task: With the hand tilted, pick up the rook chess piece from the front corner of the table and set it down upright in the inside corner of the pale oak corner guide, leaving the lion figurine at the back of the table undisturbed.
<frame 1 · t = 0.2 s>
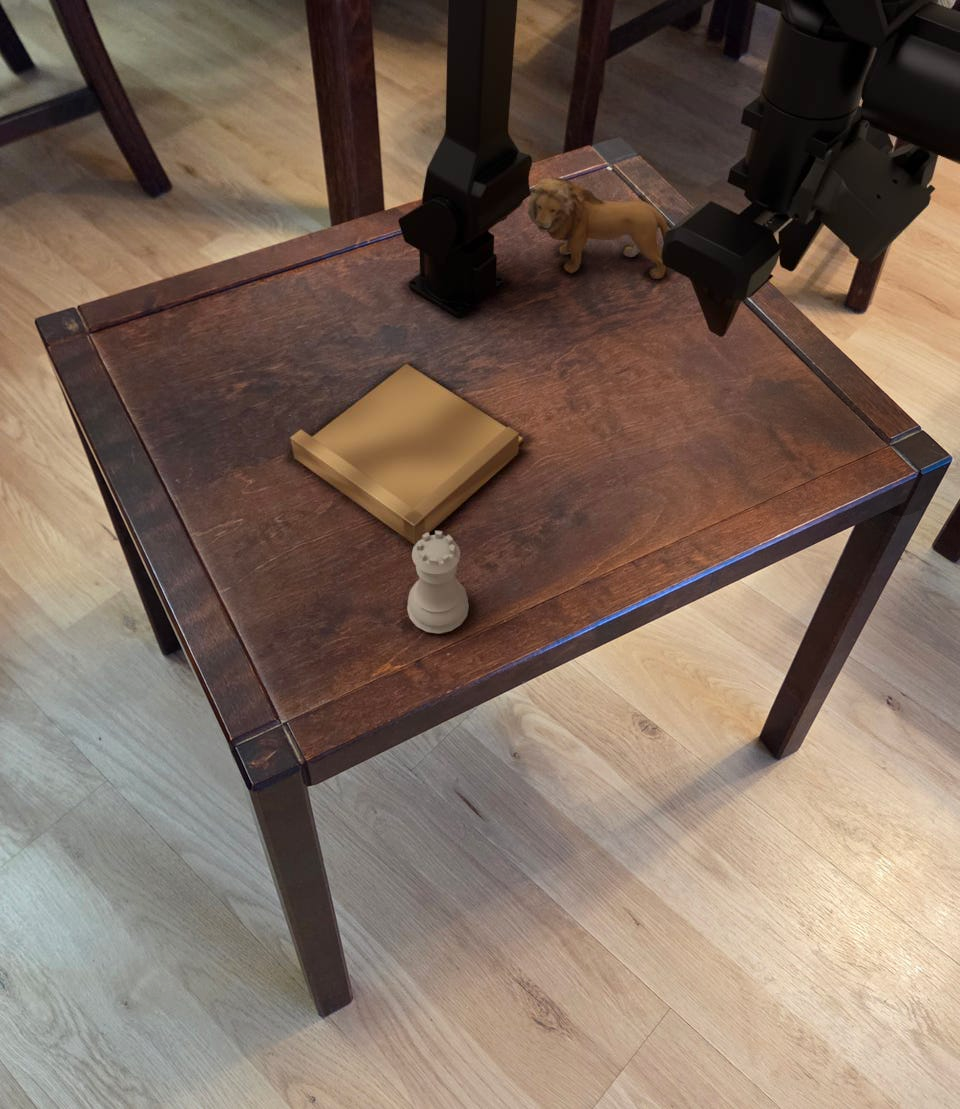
hand: (753, 300, 75), 15 cm above the table, tool pointing down, fingers open, 9 cm apart
corner guide: (415, 536, 80), on the table
lion figurine: (597, 267, 99), on the table
rook chess piece: (438, 612, 77), on the table
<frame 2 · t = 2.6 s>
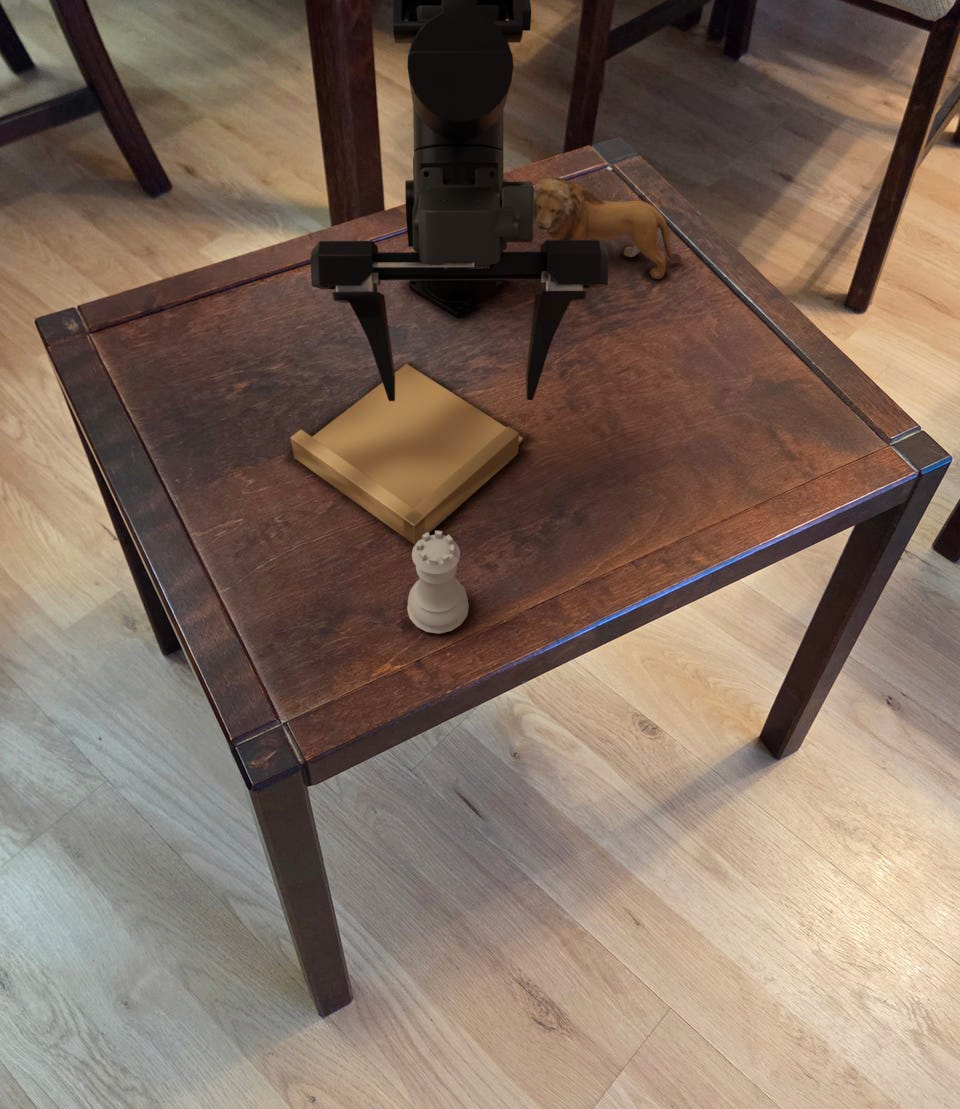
hand: (460, 400, 70), 13 cm above the table, tool tilted 40°, fingers open, 9 cm apart
nothing on the table moved.
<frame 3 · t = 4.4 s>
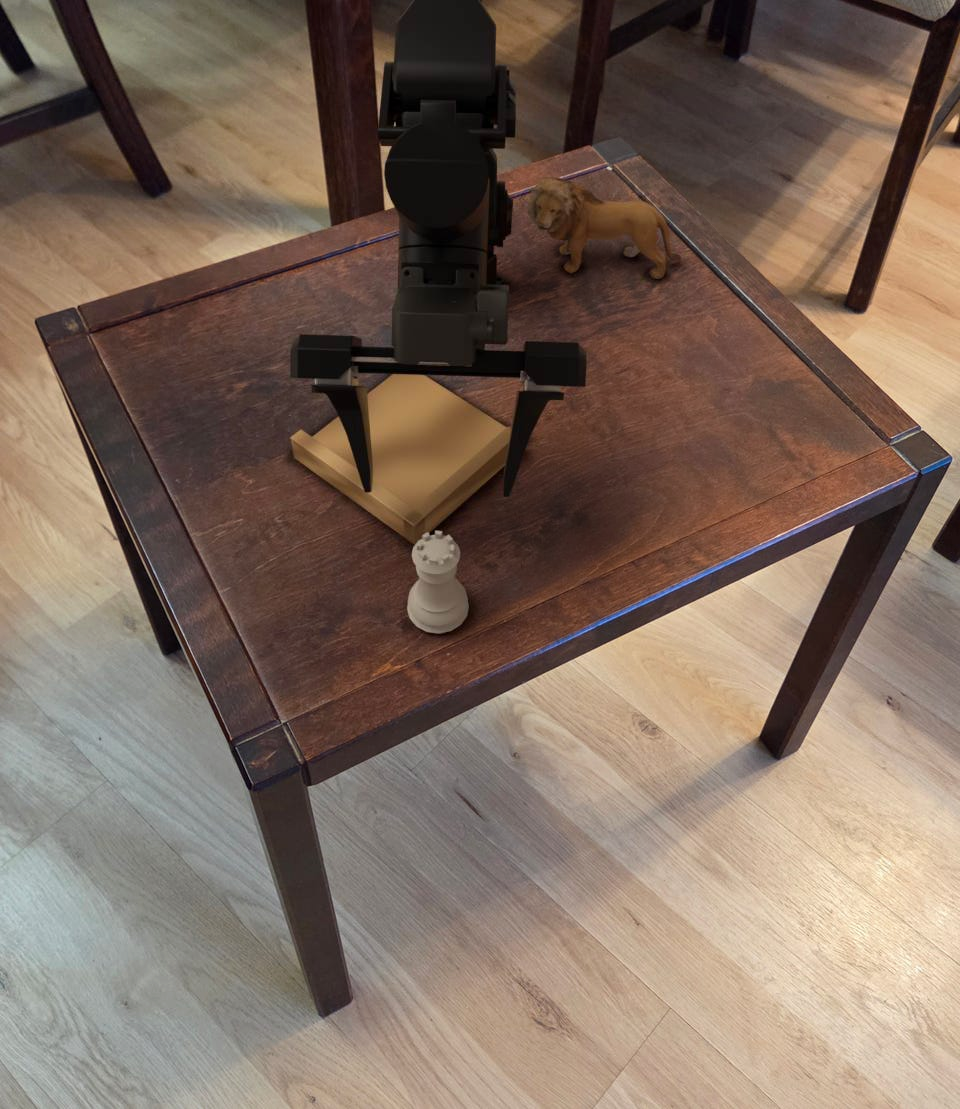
hand: (437, 494, 70), 10 cm above the table, tool tilted 45°, fingers open, 9 cm apart
nothing on the table moved.
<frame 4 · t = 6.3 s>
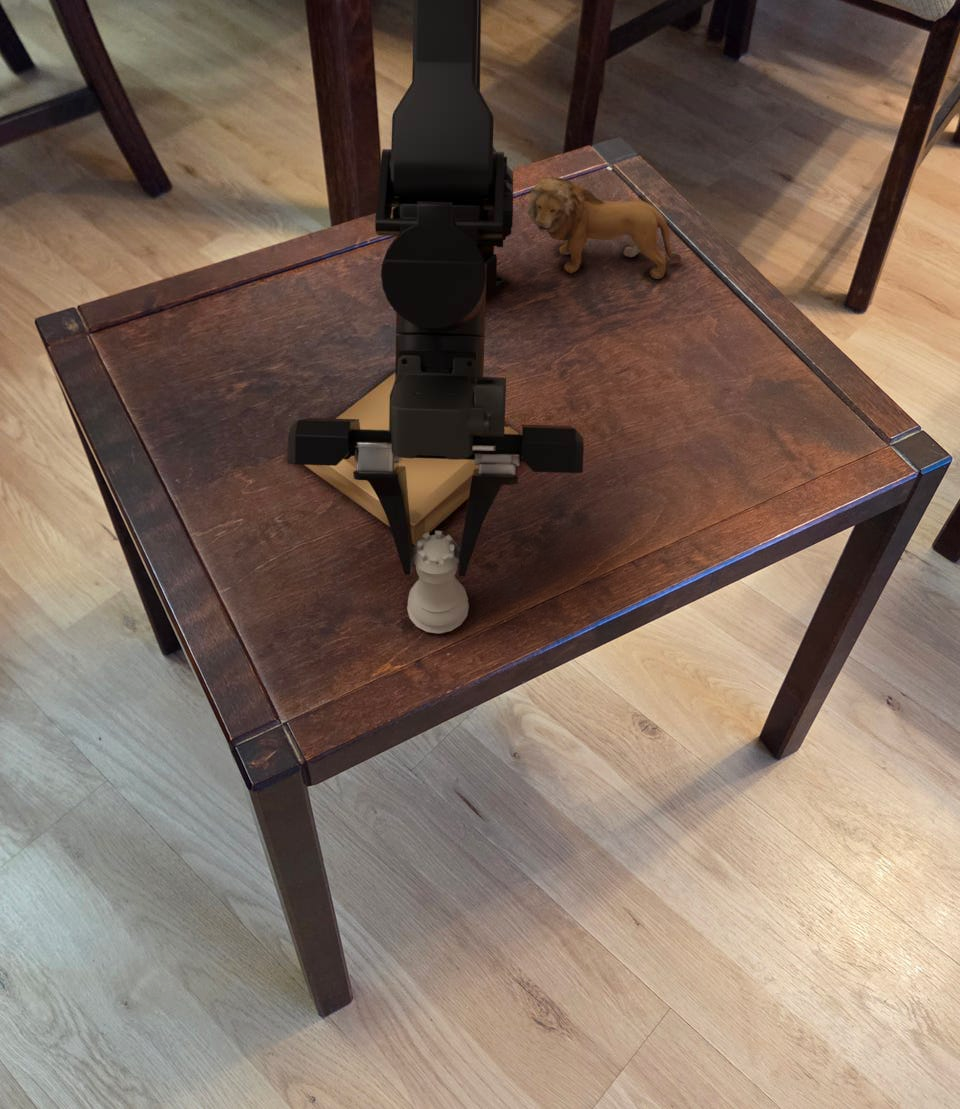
hand: (434, 575, 70), 7 cm above the table, tool tilted 45°, fingers closed on rook chess piece, 3 cm apart
rook chess piece: (438, 612, 77), on the table, touching gripper
everything else where it was.
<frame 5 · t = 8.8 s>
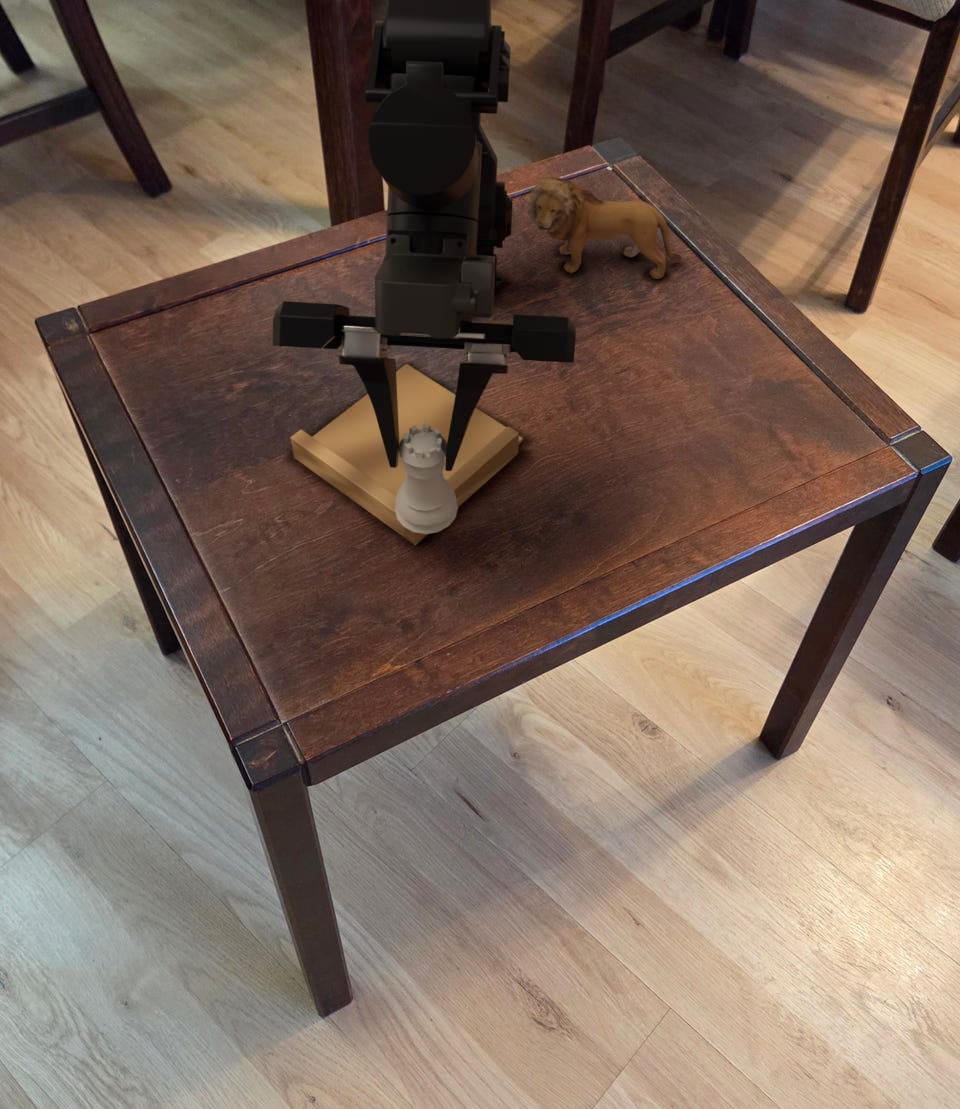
hand: (420, 468, 69), 12 cm above the table, tool tilted 45°, fingers closed on rook chess piece, 3 cm apart
rook chess piece: (426, 514, 75), point 5 cm above the table, touching gripper
everything else where it was.
when the fingers open (7 cm above the table, at t = 11.7 s): rook chess piece stays where it is, resting on corner guide.
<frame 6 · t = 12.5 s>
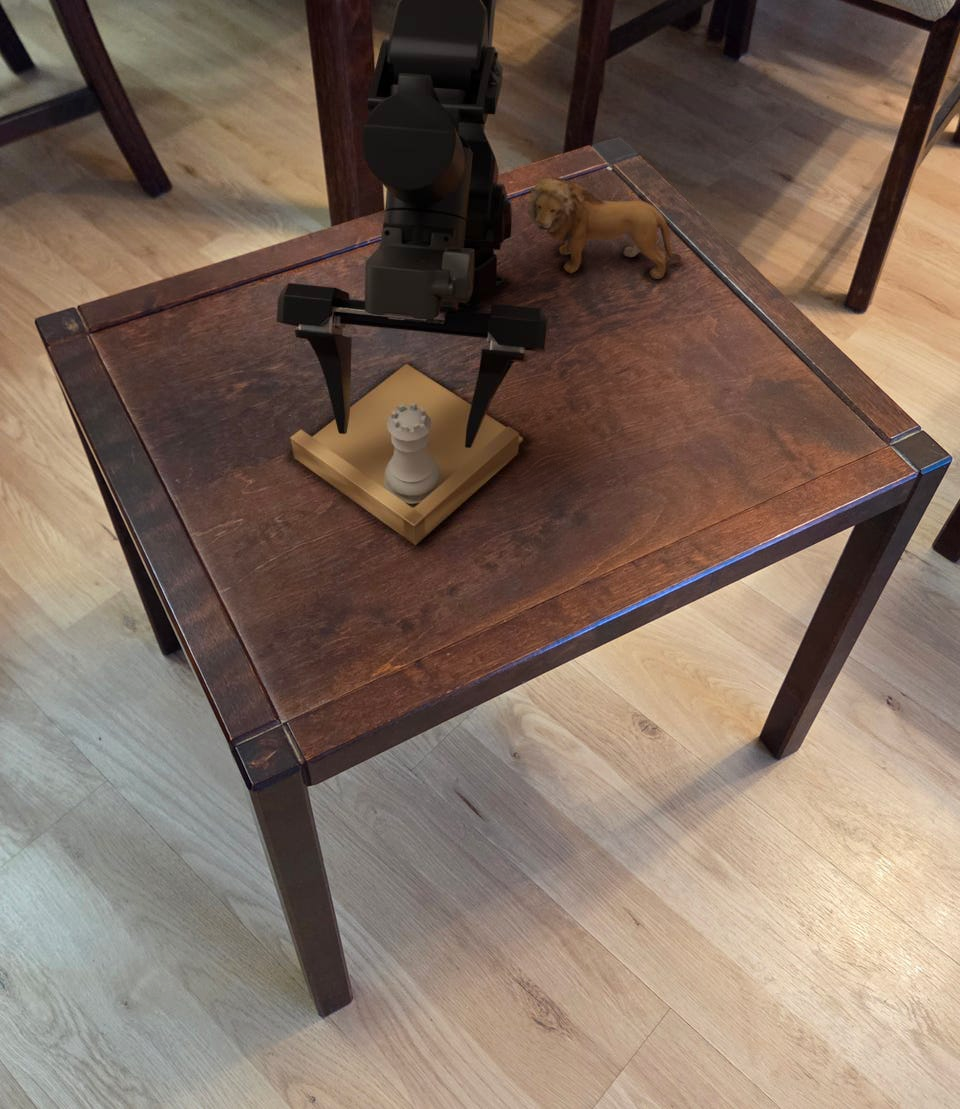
hand: (405, 440, 76), 7 cm above the table, tool tilted 45°, fingers open, 9 cm apart
rook chess piece: (413, 486, 83), resting on corner guide
everything else where it was.
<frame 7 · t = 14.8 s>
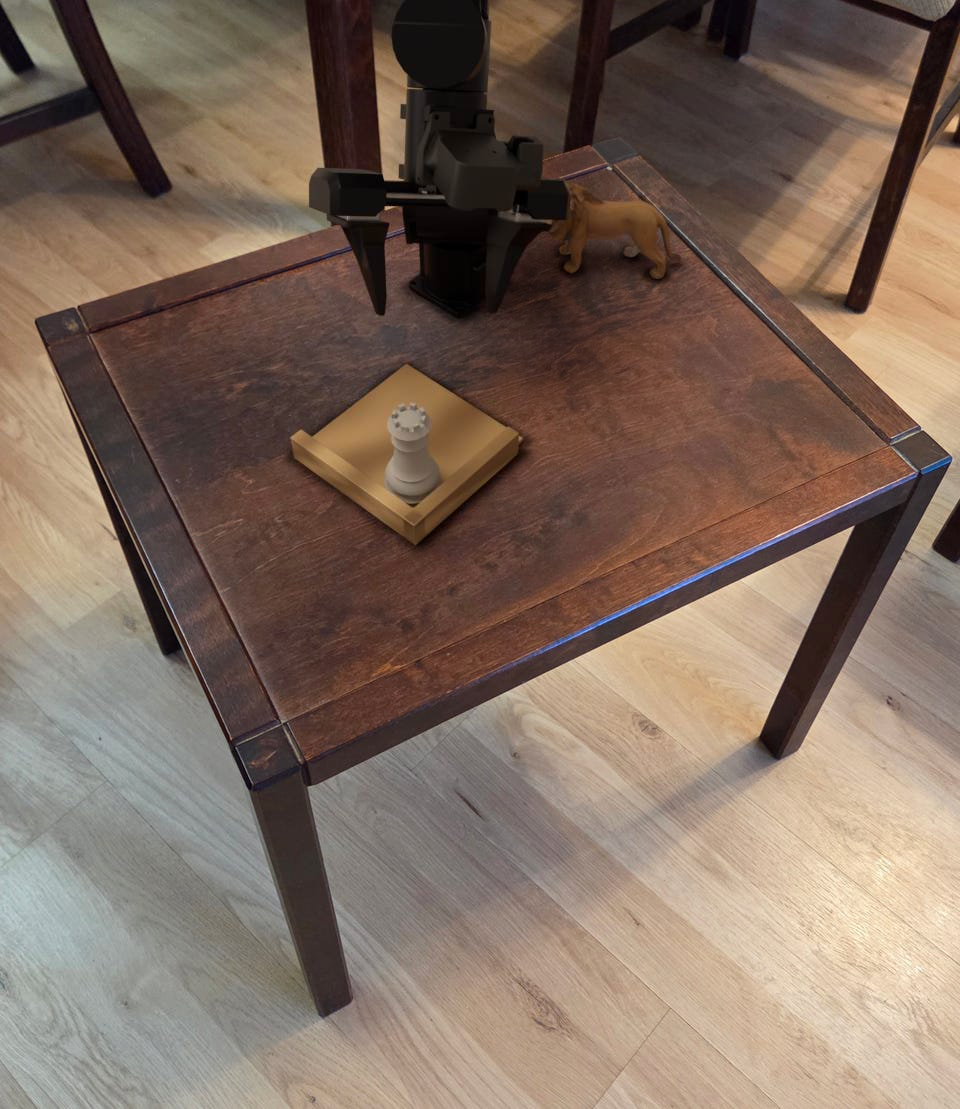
hand: (437, 313, 81), 10 cm above the table, tool tilted 30°, fingers open, 9 cm apart
nothing on the table moved.
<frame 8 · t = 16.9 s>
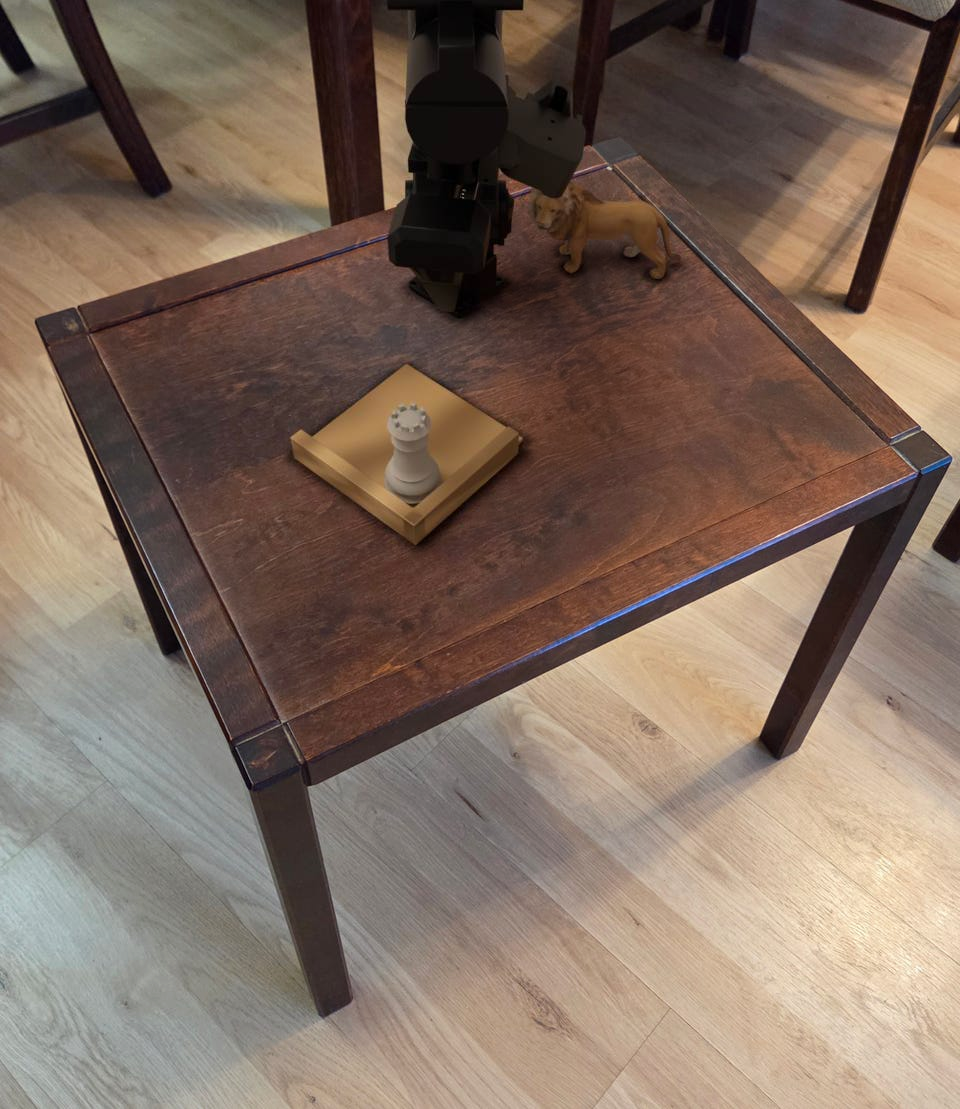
hand: (456, 268, 79), 13 cm above the table, tool pointing down, fingers open, 9 cm apart
nothing on the table moved.
at the end: rook chess piece 0.3 cm from the target spot on the corner guide, point 0.2 cm above the corner guide's base; rook chess piece tilted 0°; lion figurine moved 0.2 cm from its start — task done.
